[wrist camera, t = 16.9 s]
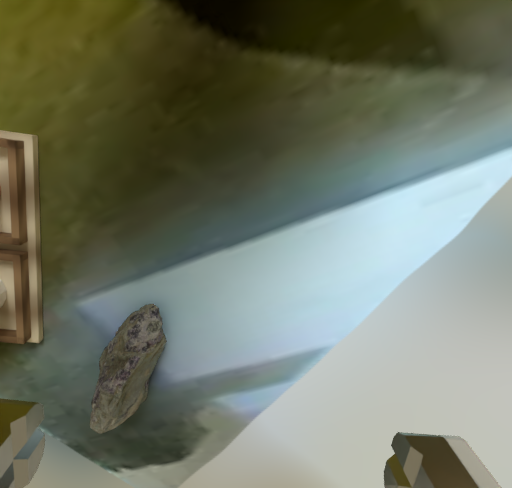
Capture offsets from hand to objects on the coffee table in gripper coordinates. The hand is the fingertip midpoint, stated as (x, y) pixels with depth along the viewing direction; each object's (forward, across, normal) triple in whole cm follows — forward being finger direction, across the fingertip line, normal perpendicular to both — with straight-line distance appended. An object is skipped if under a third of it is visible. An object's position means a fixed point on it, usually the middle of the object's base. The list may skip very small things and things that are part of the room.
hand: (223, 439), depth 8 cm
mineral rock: (+34, +10, +21) cm, 41 cm away
